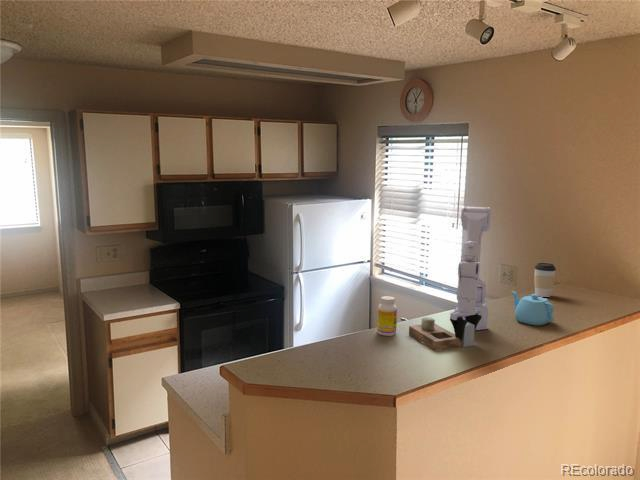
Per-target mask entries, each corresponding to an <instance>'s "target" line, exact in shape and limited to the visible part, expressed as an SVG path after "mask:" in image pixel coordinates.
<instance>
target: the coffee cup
mask: <svg viewBox="0 0 640 480" xmlns="http://www.w3.org/2000/svg"><path fill="white" fill-rule="evenodd" d="M533 269H534V274H533V276H534V277H533V279H534V294H537V295H539V296H541V297H550V296H551V297H552V294H553V288H554V284H555V278H556V271H557V269H556V267H555V265H554V263H549V262H548V263H546V262H538V263H536V265H535V266H534V267H533ZM551 297H550V298H551Z"/></svg>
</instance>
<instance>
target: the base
mask: <svg viewBox="0 0 640 480" xmlns="http://www.w3.org/2000/svg"><path fill="white" fill-rule="evenodd" d="M409 334H410V335H409ZM408 335H409V336H411V335H412V336H411V337H413V338H414V337H415V338H414V339H416V340H417V339H418V341H419V342H421V343H422V342H423V343H422V344H424V345H425V344H426V345H425V346H427V347H428V348H430V347H431V348H430V349H432V350H433V349H434V350H433V351H441V350H440V349H443V350H449V349H448V348H450V349H456V348H462V347H463V346H462V340H460V338H457V337H455V333H453V332H451V331H450V330H448V329H445V328H444V327H442V326H441V325H438V324H436V323H435V319H434V318H432V317H423V318H421V324H415V325H409V326H408Z"/></svg>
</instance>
